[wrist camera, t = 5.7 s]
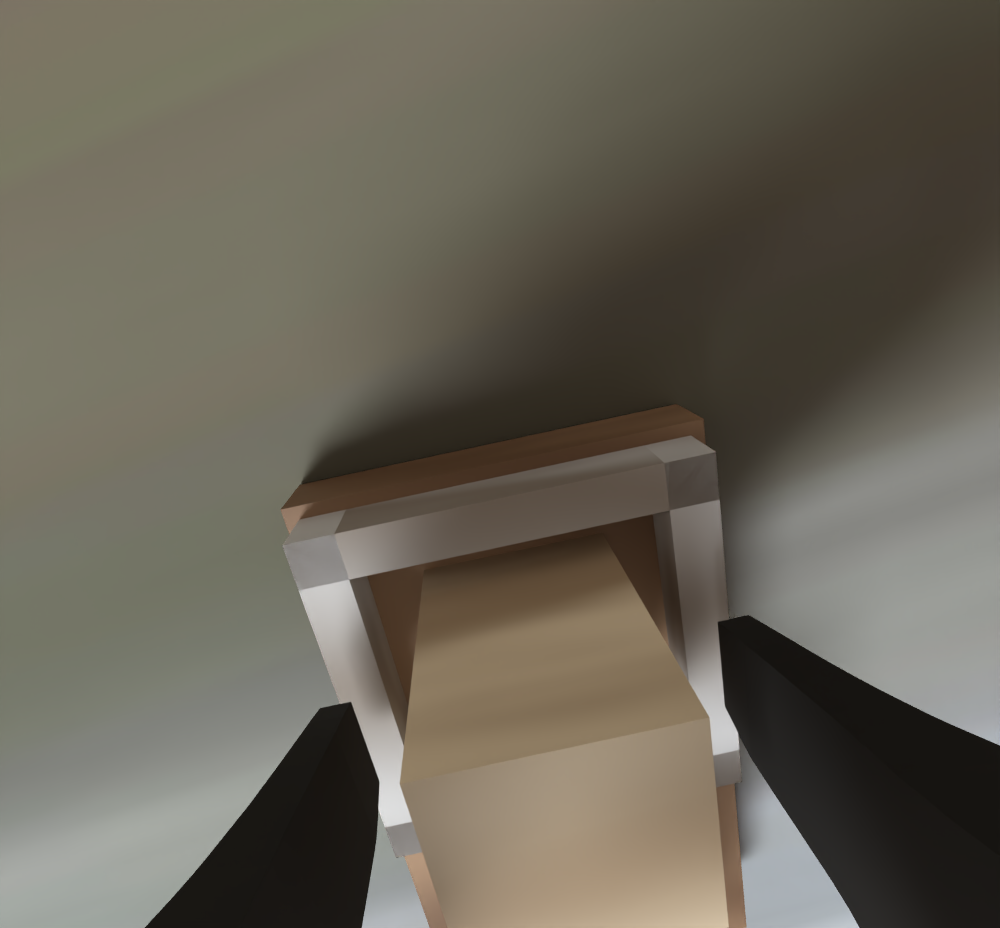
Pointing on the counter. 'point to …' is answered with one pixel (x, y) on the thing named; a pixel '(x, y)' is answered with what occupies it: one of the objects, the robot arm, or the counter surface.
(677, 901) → the tan square block
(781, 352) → the counter surface
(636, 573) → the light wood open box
